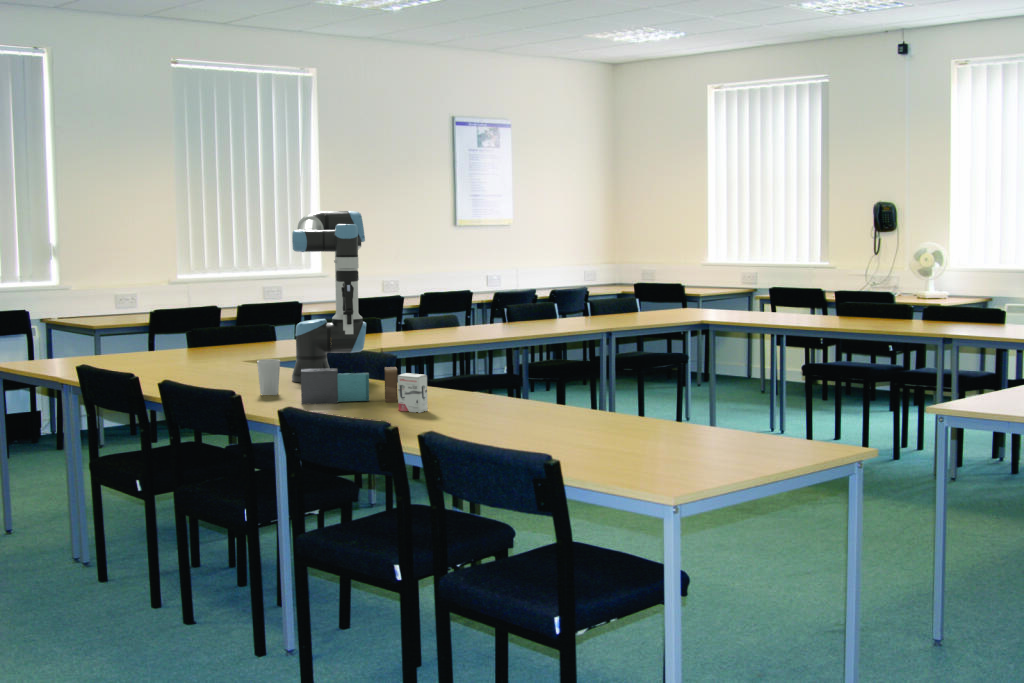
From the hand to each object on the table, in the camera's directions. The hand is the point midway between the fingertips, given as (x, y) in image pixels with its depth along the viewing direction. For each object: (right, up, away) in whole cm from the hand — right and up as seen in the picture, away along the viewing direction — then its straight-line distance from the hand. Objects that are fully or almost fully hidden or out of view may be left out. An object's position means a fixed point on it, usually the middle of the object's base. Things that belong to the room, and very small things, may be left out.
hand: (348, 332), depth 370 cm
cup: (-30, -22, +14) cm, 40 cm away
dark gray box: (-9, -24, -3) cm, 25 cm away
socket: (+14, -23, +1) cm, 28 cm away
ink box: (+24, -26, -20) cm, 40 cm away
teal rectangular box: (-4, -24, -2) cm, 24 cm away
